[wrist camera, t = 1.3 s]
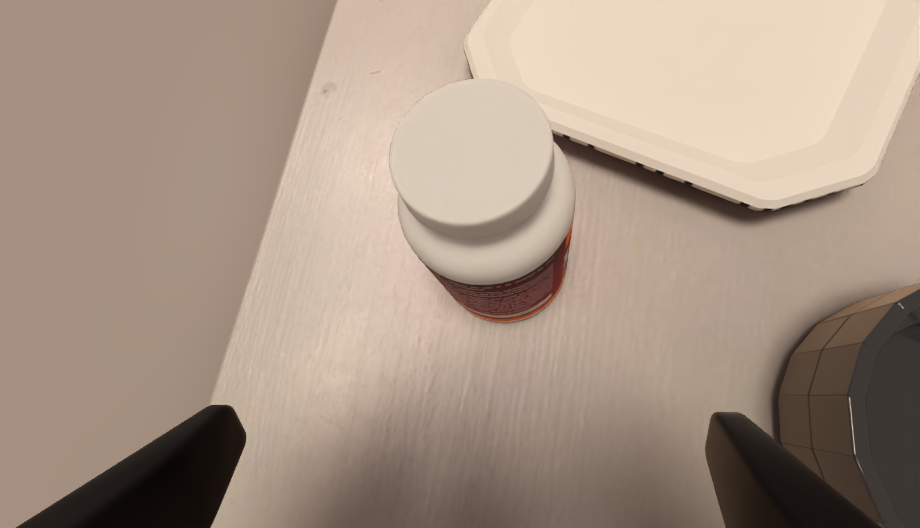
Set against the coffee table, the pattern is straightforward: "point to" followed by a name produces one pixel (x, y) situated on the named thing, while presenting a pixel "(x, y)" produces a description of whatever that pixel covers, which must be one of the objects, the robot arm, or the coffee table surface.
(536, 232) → the pill bottle
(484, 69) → the plate
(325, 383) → the coffee table surface
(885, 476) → the dish
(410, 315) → the coffee table surface
